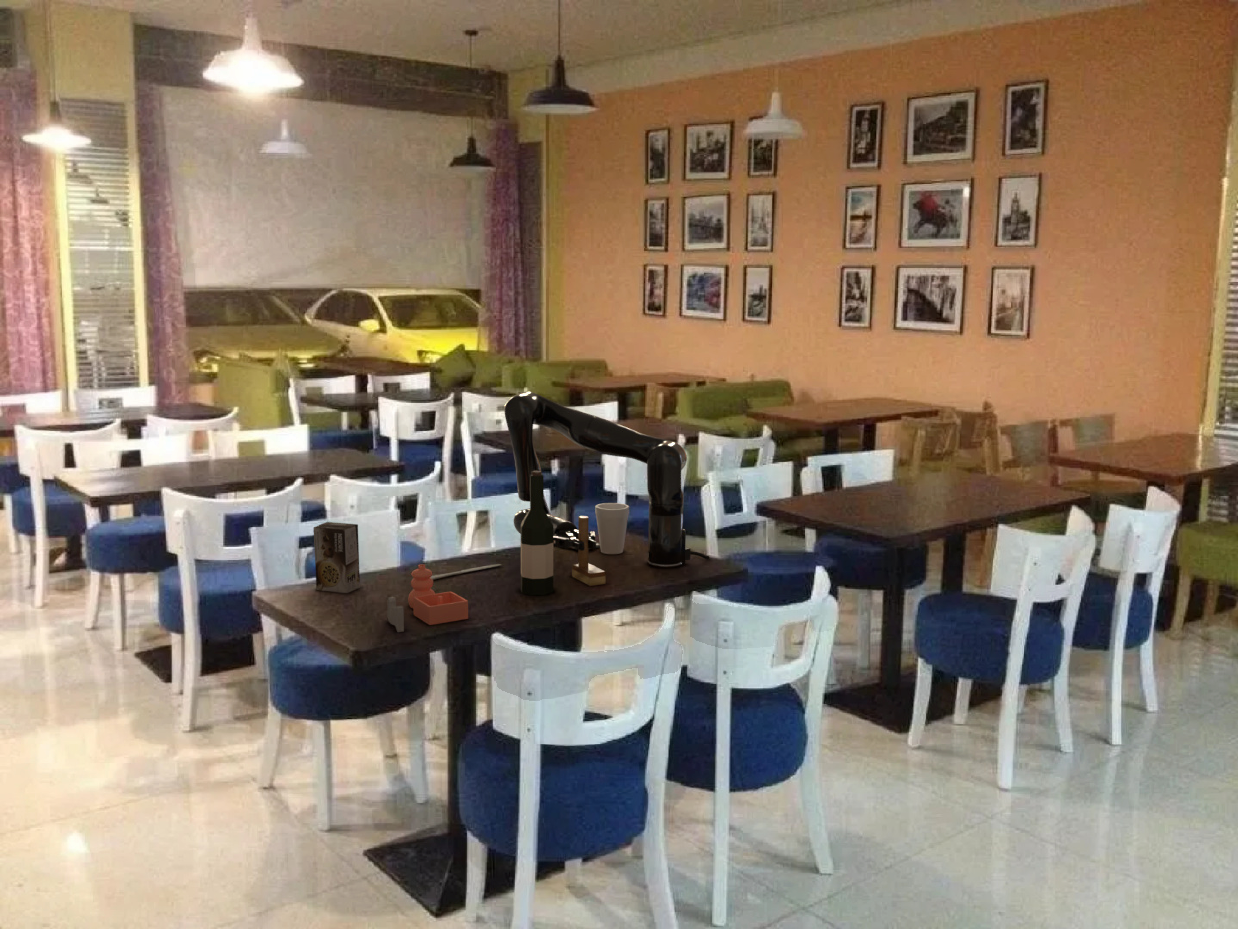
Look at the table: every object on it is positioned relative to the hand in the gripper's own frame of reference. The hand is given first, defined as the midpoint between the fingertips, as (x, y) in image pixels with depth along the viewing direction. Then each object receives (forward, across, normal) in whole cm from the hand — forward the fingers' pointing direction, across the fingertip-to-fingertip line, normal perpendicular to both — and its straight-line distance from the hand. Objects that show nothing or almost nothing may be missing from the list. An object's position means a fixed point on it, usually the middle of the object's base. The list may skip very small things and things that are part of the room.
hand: (588, 546), depth 296 cm
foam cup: (-24, +20, +9) cm, 32 cm away
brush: (0, 0, +9) cm, 9 cm away
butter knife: (-21, -26, +9) cm, 35 cm away
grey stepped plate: (+14, -56, +9) cm, 58 cm away
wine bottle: (+3, -16, +9) cm, 19 cm away
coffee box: (-21, -59, +9) cm, 63 cm away
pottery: (+8, -45, +9) cm, 47 cm away
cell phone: (-35, +14, +9) cm, 39 cm away
